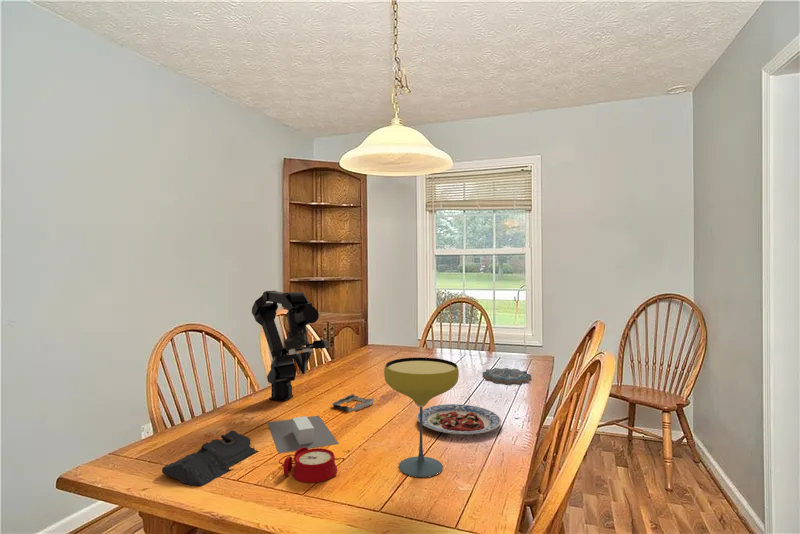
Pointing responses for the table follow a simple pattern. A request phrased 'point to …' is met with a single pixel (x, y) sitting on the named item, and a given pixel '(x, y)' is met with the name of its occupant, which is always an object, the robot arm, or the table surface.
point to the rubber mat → (288, 441)
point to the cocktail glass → (421, 398)
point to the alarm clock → (311, 465)
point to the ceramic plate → (459, 419)
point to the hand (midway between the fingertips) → (303, 373)
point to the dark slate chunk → (211, 460)
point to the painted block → (303, 430)
